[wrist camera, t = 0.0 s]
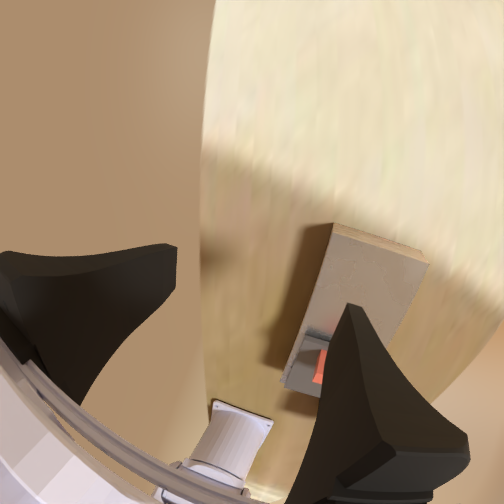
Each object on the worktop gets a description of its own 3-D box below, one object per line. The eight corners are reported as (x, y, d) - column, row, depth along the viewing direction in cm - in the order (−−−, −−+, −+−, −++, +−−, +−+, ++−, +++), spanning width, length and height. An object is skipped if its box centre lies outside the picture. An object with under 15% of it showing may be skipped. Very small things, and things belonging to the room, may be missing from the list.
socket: (351, 383, 23) (350, 401, 21) (285, 364, 25) (279, 381, 22) (420, 251, 17) (429, 264, 15) (333, 222, 18) (332, 232, 16)
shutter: (347, 399, 21) (343, 426, 18) (285, 382, 22) (276, 408, 19) (377, 355, 18) (378, 384, 15) (305, 334, 19) (297, 362, 17)
